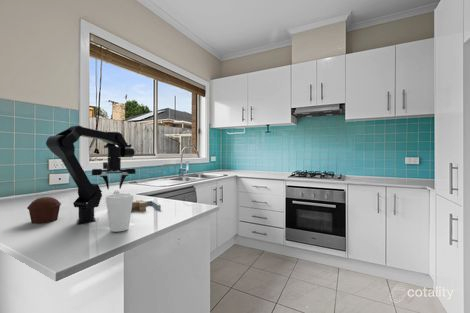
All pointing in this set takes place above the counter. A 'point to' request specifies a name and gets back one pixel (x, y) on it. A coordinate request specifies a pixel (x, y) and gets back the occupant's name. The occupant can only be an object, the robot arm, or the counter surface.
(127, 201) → the foam cup
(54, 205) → the muffin
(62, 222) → the counter surface
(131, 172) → the robot arm
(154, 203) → the corner fence
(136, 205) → the T block
